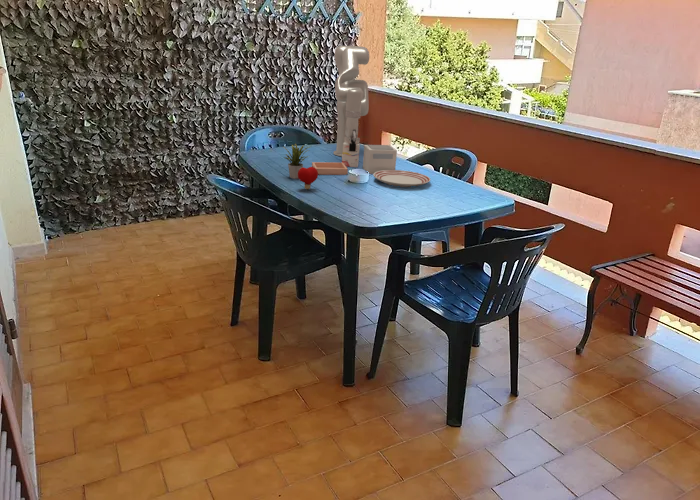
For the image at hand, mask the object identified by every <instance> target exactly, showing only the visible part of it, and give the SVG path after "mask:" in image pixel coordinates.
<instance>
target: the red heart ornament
mask: <svg viewBox="0 0 700 500" xmlns="http://www.w3.org/2000/svg"><path fill="white" fill-rule="evenodd" d="M298 178H299V179H298V180H299V181H301V183H304V189H305V190H306V191H308V190H311V185H312V184H313V183H314V182H315V181H316V180H317V179H318V178H319V175H318V171H317V169H316V168H314V167H312V166H310V167H309V166H308V167H304V166H303V168H301V169H300V170H299V171H298Z"/></svg>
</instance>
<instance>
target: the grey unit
mask: <svg viewBox="0 0 700 500" xmlns="http://www.w3.org/2000/svg"><path fill="white" fill-rule="evenodd" d="M397 154H398V150H397V149H396V148H394V147H393V146H392V145H391V144H390V145H389V144H364V145H363V159H362V169H363V170H364V171H365V170H366V171H368V172H369V173H370V175H373V174H374V173H375V172H377V171H382V170H396V166H397V165H396V164H397ZM366 171H365V172H366Z"/></svg>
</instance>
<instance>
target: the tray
mask: <svg viewBox="0 0 700 500" xmlns="http://www.w3.org/2000/svg"><path fill="white" fill-rule="evenodd" d="M311 167H314V168H316V169H317V171H318V176H319V175H321V176H322V175H323V176H325V175H326V176H327V175H328V176H338V175H339V176H347V175H348V172H349V171H348V169H349V168H348V167H347V166H345V165H344V163H342V162H330V161H329V162H322V161H321V162H320V161H319V162H318V161H316V162H315V161H314V162H313V161H312V162H311ZM346 174H347V175H346Z"/></svg>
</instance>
